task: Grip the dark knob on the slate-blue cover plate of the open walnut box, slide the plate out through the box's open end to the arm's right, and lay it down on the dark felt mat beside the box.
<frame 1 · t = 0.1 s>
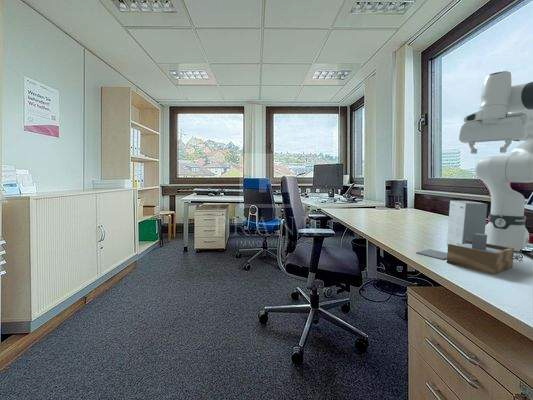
hand: (487, 153, 112), 39 cm above the table, tool pointing down, fingers open, 8 cm apart
felt mat: (436, 254, 114), on the table
cover plate: (478, 251, 101), point 4 cm above the table, touching walnut box
hard drive box: (463, 251, 121), on the table
walnut box: (478, 265, 102), on the table
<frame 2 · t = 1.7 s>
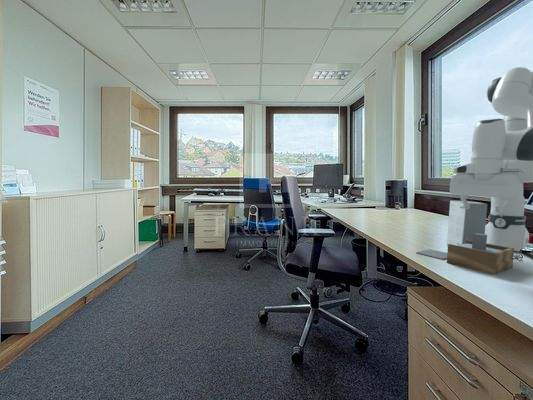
hand: (482, 210, 100), 19 cm above the table, tool pointing down, fingers open, 8 cm apart
nothing on the table moved.
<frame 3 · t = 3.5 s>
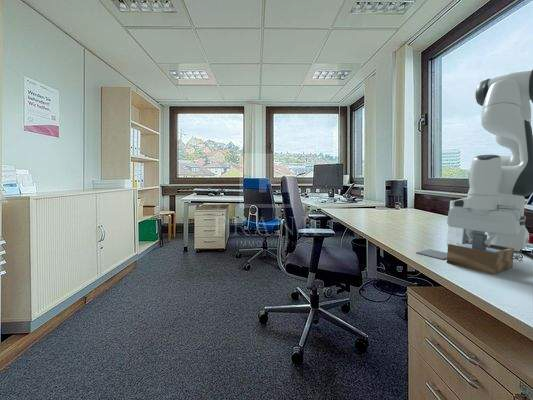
hand: (479, 244, 101), 7 cm above the table, tool pointing down, fingers closed on cover plate, 3 cm apart
cover plate: (478, 251, 101), point 4 cm above the table, touching gripper, walnut box
everything else where it was.
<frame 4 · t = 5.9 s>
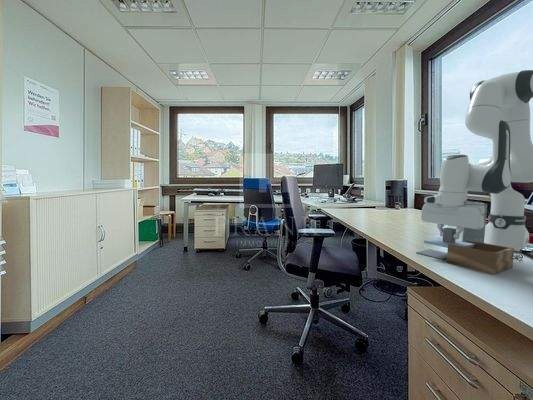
hand: (449, 237, 109), 7 cm above the table, tool pointing down, fingers closed on cover plate, 3 cm apart
cover plate: (448, 244, 110), point 5 cm above the table, touching gripper
everything else where it was.
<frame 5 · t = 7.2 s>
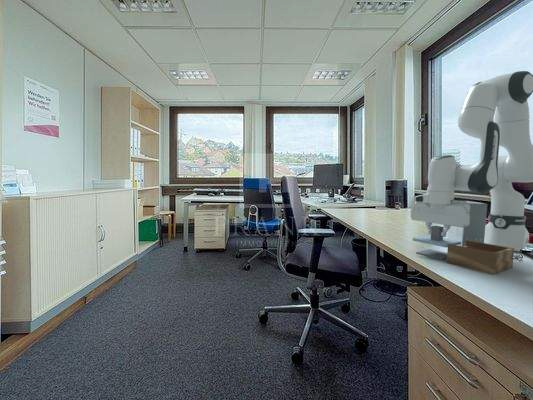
hand: (436, 235, 113), 7 cm above the table, tool pointing down, fingers closed on cover plate, 3 cm apart
cover plate: (436, 242, 113), point 5 cm above the table, touching gripper
everything else where it was.
when the fingers open (4 cm above the table, at t = 8.3 s): cover plate stays where it is, resting on felt mat.
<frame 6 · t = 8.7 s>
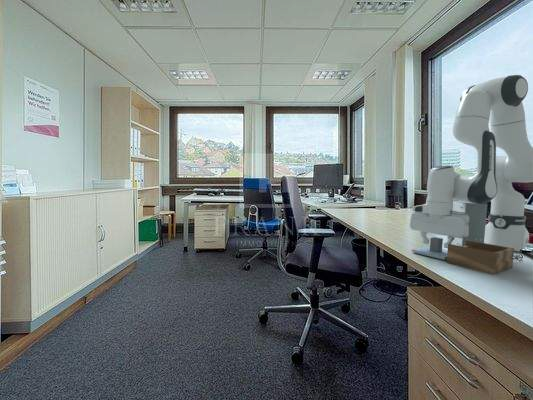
hand: (436, 245, 113), 4 cm above the table, tool pointing down, fingers open, 6 cm apart
cover plate: (435, 253, 114), resting on felt mat
everything else where it was.
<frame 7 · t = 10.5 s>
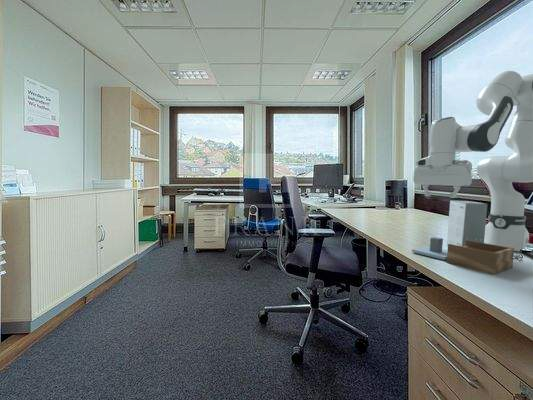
hand: (440, 196, 116), 22 cm above the table, tool pointing down, fingers open, 8 cm apart
nothing on the table moved.
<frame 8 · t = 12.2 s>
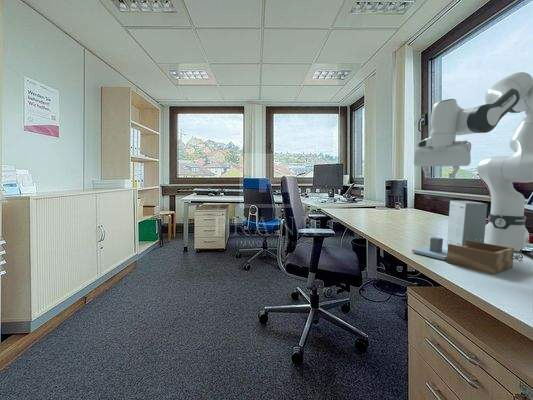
hand: (439, 177, 118), 29 cm above the table, tool pointing down, fingers open, 8 cm apart
nothing on the table moved.
at the end: cover plate inside the target area (0.0 cm from its centre), resting on felt mat; cover plate tilted 0°; the gripper is holding nothing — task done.
